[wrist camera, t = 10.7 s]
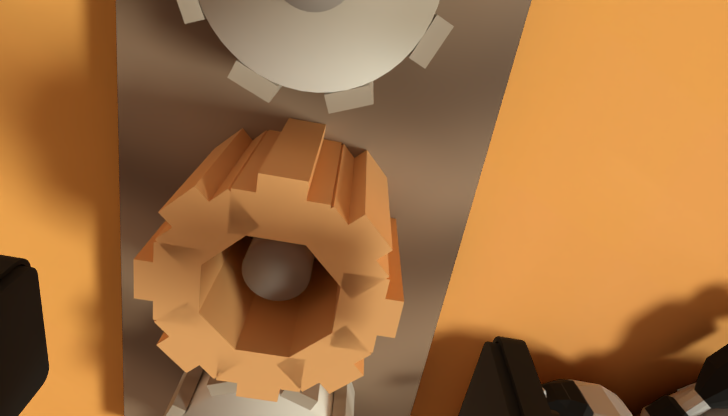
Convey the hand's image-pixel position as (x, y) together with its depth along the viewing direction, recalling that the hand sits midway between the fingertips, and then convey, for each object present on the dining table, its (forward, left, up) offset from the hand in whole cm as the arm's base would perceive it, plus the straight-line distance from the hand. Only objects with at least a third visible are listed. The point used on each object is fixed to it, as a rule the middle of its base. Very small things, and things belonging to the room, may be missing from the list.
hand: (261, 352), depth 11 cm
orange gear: (+1, 0, -8) cm, 8 cm away
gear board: (+1, 0, -9) cm, 9 cm away
